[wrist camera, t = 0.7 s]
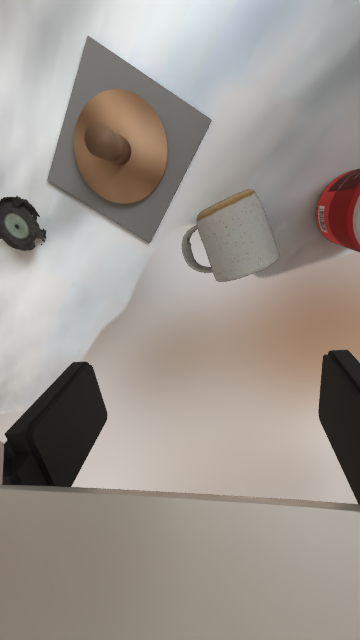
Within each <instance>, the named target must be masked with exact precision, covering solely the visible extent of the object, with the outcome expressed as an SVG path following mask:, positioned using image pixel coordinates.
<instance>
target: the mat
mask: <svg viewBox="0 0 360 640" xmlns="http://www.w3.org/2000/svg"><path fill="white" fill-rule="evenodd" d="M111 89H122V90H127V91H130V92H133V93H135V94H137V95H138V96H140V97H141V98H143V99H144V100H145V101H146V102H147V103H148V104H149V105H150V106H151V107H152V108H153V110H154V111H155V112H156V114H157V115H158V117H159V119H160V120H161V122H162V125H163V127H164V129H165V133H166V136H167V142H168V162H167V167H166V171H165V174H164V176H163V179H162V180H161V182H160V184H159V185H158V187H157V188H156V189H155V191H154V192H153V193H152V194H150V195H149V196H148V197H146V198H145V199H143V200H141V201H138V202H135V203H127V204H123V203H115V202H111V201H109V200H106V199H104V198H103V197H101V196H100V195H98V194H97V193H96V192H95V191H93V190H92V189H91V187H90V186H89V185H88V184H87V183H86V181H85V180H84V178H83V176H82V174H81V173H80V170H79V168H78V165H77V162H76V158H75V153H74V131H75V126H76V122H77V120H78V117H79V115H80V113H81V111H82V109H83V108H84V106H85V105H86V104H87V103H88V102H89V101H90V99H92V98H93V97H94V96H96V95H97V94H99V93H101V92H103V91H106V90H111ZM210 123H211V119H209V118H208V117H207V116H205V115H204V114H202V113H201V112H199V111H198V110H196V109H195V108H193V107H192V106H190V105H189V104H187V103H186V102H185V101H183V100H182V99H180V98H179V97H177V96H176V95H174V94H173V93H171V92H170V91H168V90H167V89H165V88H164V87H163V86H161V85H160V84H158V83H157V82H155V81H154V80H152V79H151V78H149V77H148V76H146V75H145V74H143V73H142V72H141V71H139V70H138V69H136V68H135V67H133V66H132V65H130V64H129V63H127V62H126V61H124V60H123V59H121V58H120V57H119V56H117V55H116V54H114V53H113V52H111V51H110V50H108V49H107V48H105V47H104V46H102V45H101V44H99V43H98V42H97V41H95V40H94V39H92V38H91V37H89V36H87V40H86V44H85V47H84V51H83V54H82V58H81V61H80V65H79V69H78V72H77V76H76V79H75V83H74V86H73V90H72V94H71V97H70V101H69V104H68V108H67V111H66V115H65V119H64V122H63V126H62V129H61V133H60V136H59V140H58V144H57V147H56V151H55V154H54V158H53V162H52V165H51V169H50V172H49V176H48V179H47V180H48V181H50V182H52V183H53V184H55V185H57V186H58V187H60V188H61V189H63V190H65V191H66V192H68V193H69V194H71V195H73V196H74V197H76V198H78V199H79V200H81V201H82V202H84V203H86V204H87V205H89V206H90V207H92V208H94V209H95V210H97V211H99V212H100V213H102V214H103V215H105V216H107V217H108V218H110V219H111V220H113V221H115V222H116V223H118V224H120V225H121V226H123V227H124V228H126V229H128V230H129V231H131V232H132V233H134V234H136V235H137V236H139V237H141V238H142V239H144V240H145V241H147V242H149V243H150V242H151V240H152V238H153V236H154V234H155V232H156V230H157V228H158V226H159V224H160V222H161V220H162V218H163V216H164V214H165V212H166V210H167V208H168V206H169V204H170V202H171V200H172V198H173V196H174V195H175V193H176V191H177V189H178V187H179V185H180V183H181V181H182V179H183V177H184V175H185V173H186V171H187V169H188V167H189V165H190V163H191V161H192V159H193V157H194V155H195V153H196V151H197V149H198V147H199V145H200V143H201V141H202V139H203V137H204V135H205V133H206V131H207V129H208V127H209V125H210Z"/></svg>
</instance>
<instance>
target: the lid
mask: <svg viewBox="0 0 360 640" xmlns="http://www.w3.org/2000/svg"><path fill="white" fill-rule="evenodd" d="M74 153H75V158H76V162H77V165H78V168H79V170H80V173H81V174H82V176H83V178H84V180H85V181H86V183H87V184H88V185H89V186H90V187H91V189H92V190H93V191H95V192H96V193H97V194H98V195H100V196H101V197H103V198H104V199H106V200H109V201H111V202H115V203H123V204H127V203H135V202H138V201H141V200H143V199H145V198H146V197H148V196H149V195H150V194H152V193H153V192H154V191H155V189H156V188H157V187H158V185H159V184H160V182H161V180H162V179H163V176H164V174H165V171H166V167H167V162H168V142H167V136H166V133H165V129H164V127H163V125H162V122H161V120H160V119H159V117H158V115H157V114H156V112H155V111H154V110H153V108H152V107H151V106H150V105H149V104H148V103H147V102H146V101H145V100H144V99H143V98H141V97H140V96H138V95H137V94H135V93H133V92H130V91H127V90H122V89H111V90H106V91H103V92H101V93H99V94H97V95H96V96H94V97H93V98H92V99H90V101H89V102H88V103H87V104H86V105H85V106H84V108H83V109H82V111H81V113H80V115H79V117H78V120H77V122H76V126H75V131H74Z"/></svg>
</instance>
